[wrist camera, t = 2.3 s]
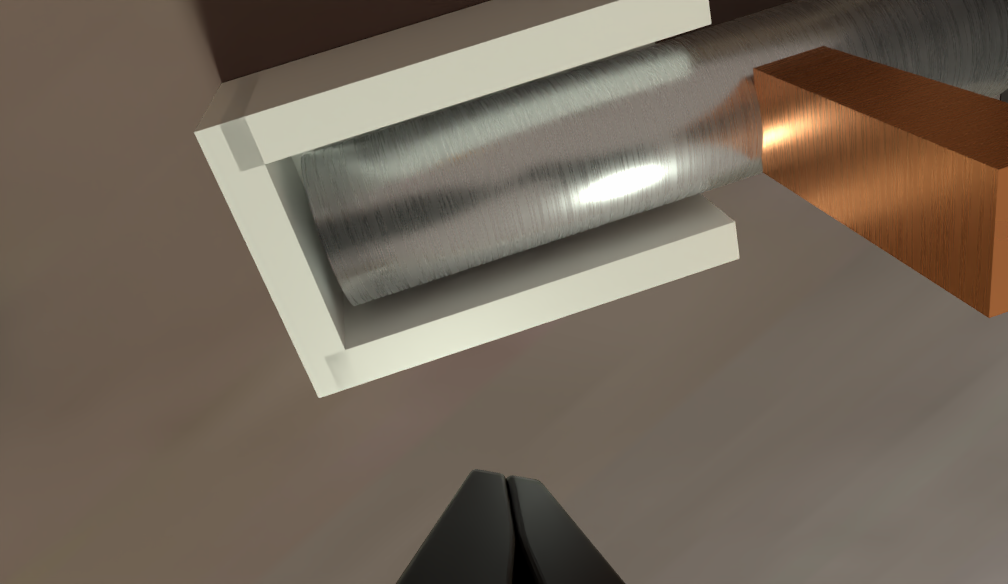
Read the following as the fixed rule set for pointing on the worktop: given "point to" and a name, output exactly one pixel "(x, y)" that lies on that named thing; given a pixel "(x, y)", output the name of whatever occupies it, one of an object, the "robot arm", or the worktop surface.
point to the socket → (1004, 96)
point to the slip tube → (703, 146)
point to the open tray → (412, 95)
